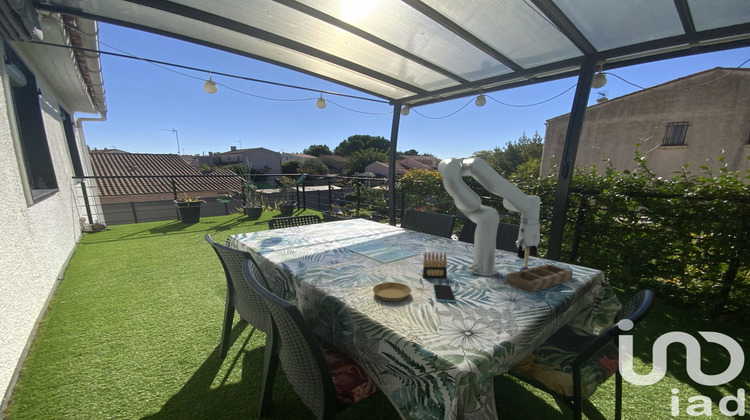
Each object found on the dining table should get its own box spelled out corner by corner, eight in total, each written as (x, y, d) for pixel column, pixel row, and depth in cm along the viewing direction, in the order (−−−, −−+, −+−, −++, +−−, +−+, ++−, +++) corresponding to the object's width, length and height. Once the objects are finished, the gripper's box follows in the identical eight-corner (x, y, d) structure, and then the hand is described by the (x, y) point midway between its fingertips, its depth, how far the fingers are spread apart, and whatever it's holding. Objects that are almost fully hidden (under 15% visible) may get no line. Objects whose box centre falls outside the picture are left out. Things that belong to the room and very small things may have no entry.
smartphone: (450, 285, 113) (456, 300, 99) (450, 287, 113) (456, 303, 99) (432, 284, 114) (435, 299, 100) (432, 286, 114) (435, 302, 100)
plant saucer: (367, 291, 109) (367, 285, 108) (399, 285, 114) (399, 279, 114) (382, 307, 95) (382, 300, 95) (418, 300, 101) (418, 293, 101)
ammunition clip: (423, 278, 123) (423, 252, 121) (422, 276, 125) (423, 251, 123) (446, 278, 122) (447, 252, 121) (445, 276, 124) (446, 251, 123)
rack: (531, 292, 107) (532, 281, 107) (506, 282, 117) (507, 273, 116) (571, 279, 121) (572, 270, 120) (546, 272, 130) (547, 263, 130)
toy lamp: (525, 269, 135) (528, 236, 133) (533, 272, 130) (536, 238, 128) (518, 270, 133) (520, 236, 131) (526, 273, 129) (528, 239, 127)
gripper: (525, 224, 121) (523, 261, 124) (548, 221, 129) (545, 256, 132) (510, 221, 128) (508, 257, 130) (533, 219, 136) (530, 252, 138)
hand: (527, 256), depth 131 cm, fingers open, 8 cm apart
